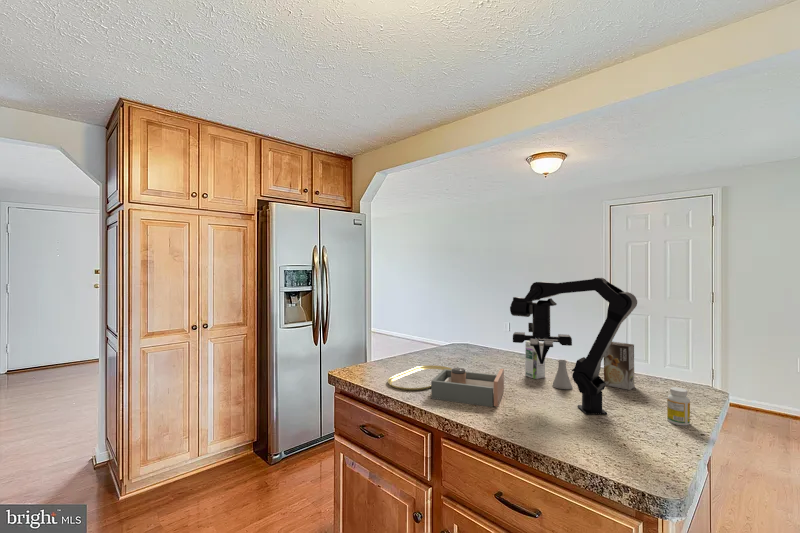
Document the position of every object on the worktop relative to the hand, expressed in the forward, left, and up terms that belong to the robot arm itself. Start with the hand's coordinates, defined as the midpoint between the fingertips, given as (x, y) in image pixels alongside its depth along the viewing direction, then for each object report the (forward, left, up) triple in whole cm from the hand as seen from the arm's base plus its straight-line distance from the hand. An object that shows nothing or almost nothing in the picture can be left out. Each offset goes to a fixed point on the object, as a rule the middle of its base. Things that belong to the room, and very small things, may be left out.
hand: (541, 363), depth 131 cm
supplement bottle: (-19, -33, -12) cm, 40 cm away
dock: (+3, +25, -12) cm, 28 cm away
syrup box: (+26, -6, -12) cm, 30 cm away
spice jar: (+4, +28, -11) cm, 30 cm away
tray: (+2, +23, -12) cm, 26 cm away
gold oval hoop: (+22, +40, -13) cm, 48 cm away
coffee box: (+15, -34, -12) cm, 39 cm away
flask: (+13, -12, -12) cm, 22 cm away
